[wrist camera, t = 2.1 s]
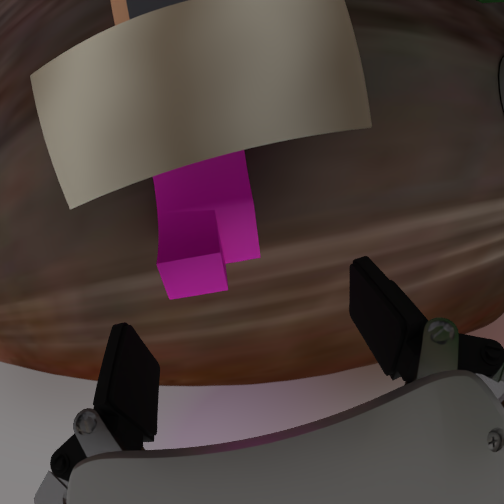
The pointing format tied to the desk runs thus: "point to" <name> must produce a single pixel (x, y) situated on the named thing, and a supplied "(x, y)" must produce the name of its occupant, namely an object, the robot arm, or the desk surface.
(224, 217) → the toy block
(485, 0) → the hardback book
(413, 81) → the desk surface
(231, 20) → the tunnel
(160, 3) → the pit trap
